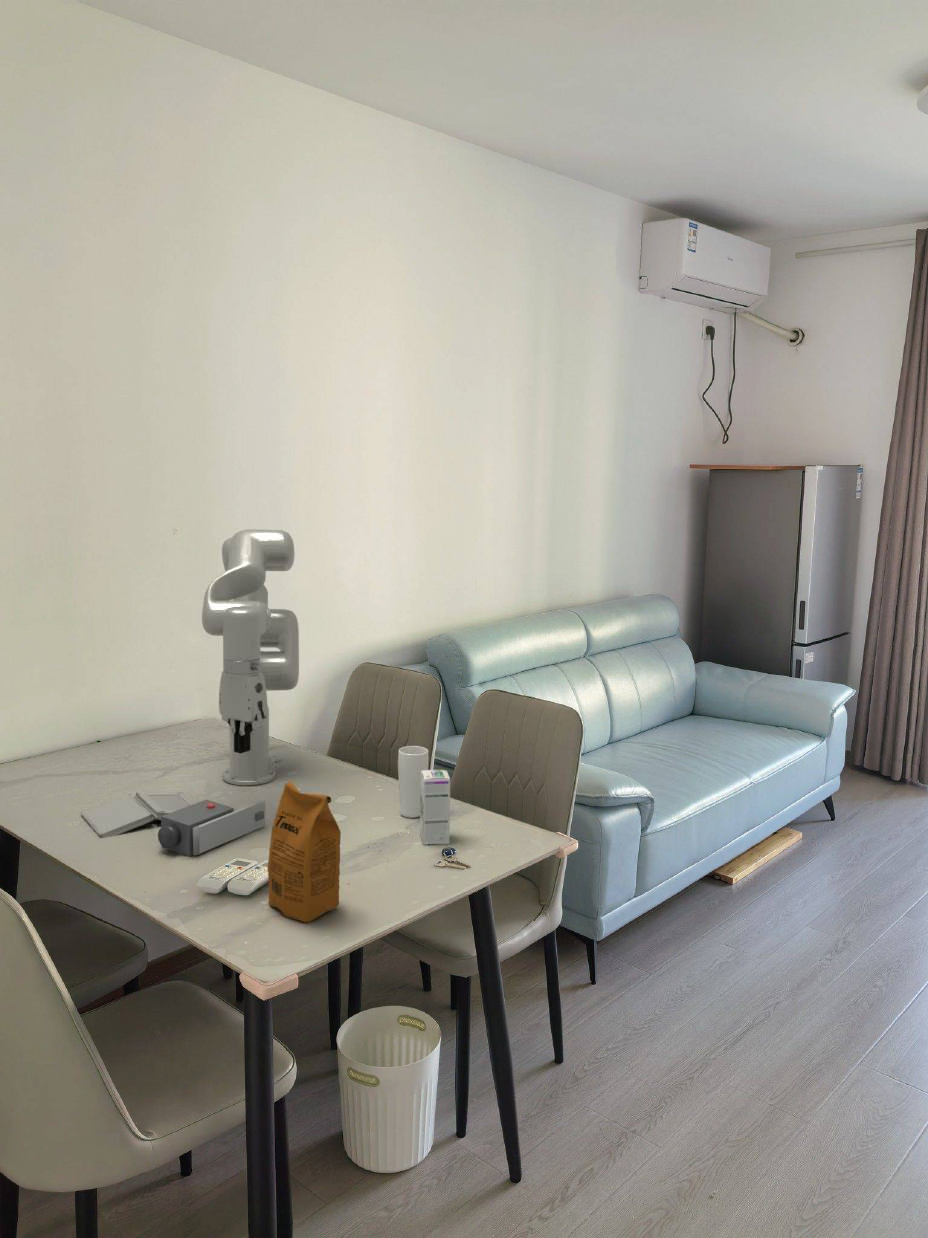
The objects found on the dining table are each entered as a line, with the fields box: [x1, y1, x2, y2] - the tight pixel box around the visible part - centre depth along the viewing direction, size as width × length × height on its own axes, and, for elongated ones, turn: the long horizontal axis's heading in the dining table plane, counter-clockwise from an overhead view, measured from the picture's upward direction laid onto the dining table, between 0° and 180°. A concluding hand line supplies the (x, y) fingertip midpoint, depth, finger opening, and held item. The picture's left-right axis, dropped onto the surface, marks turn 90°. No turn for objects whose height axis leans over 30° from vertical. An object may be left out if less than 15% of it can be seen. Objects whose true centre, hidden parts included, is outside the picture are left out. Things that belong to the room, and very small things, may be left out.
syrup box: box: [419, 769, 451, 846], centre depth 200 cm, size 6×6×14 cm
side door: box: [192, 799, 266, 856], centre depth 196 cm, size 20×2×6 cm, turn 148°
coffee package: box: [267, 780, 342, 923], centre depth 167 cm, size 10×12×22 cm
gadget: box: [80, 792, 197, 839], centre depth 208 cm, size 23×15×4 cm, turn 126°
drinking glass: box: [397, 745, 429, 819], centre depth 214 cm, size 7×7×15 cm
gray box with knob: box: [157, 799, 235, 857], centre depth 194 cm, size 14×8×7 cm, turn 148°
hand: (242, 751), depth 201 cm, fingers closed
